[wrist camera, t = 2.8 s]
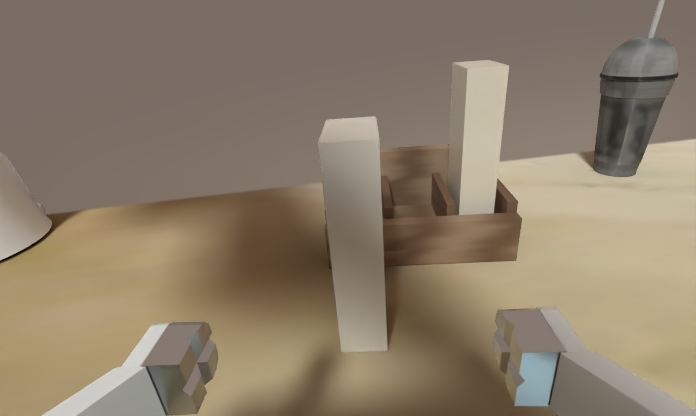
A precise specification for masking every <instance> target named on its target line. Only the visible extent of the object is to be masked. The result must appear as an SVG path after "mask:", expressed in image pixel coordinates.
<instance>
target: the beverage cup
mask: <svg viewBox="0 0 696 416" xmlns="http://www.w3.org/2000/svg"><path fill="white" fill-rule="evenodd" d="M664 2H665V0H659V3H658V6H657V9H656V12H655V15H654V19H653V22H652V25H651V28H650V31H649V34H648V37H639V38H633V39H631V40H629V41H627V42H626V43H624V44H622V45H621V46H619V47H618V48H617V49H616V50H615V51H614V52H613V53H612V54H611V55H610V56H609V58H608V59H607V61H606V63H605V65H604V67H603V70H602V73H601V74H600V77H601V81H600V93H601V101H600V110H599V119H598V127H597V136H596V145H595V154H594V157H595V159H594V170H595V171H596V172H598V173H601V174H604V175H609V176H617V177H627V176H633V175H635V174H636V171H637V168H638V166H639V164H640V162H641V160H642V158H643V155H644V152H645V150H646V147H647V144H648V142H649V139H650V137H651V134H652V131H653V129H654V126H655V124H656V121H657V118H658V116H659V113H660V110H661V108H662V105H663V103H664V100H665V98H666V96H667V95H668V94H669V92H670V90H671V88H672V86H673V84H674V81H675V78H677V77H678V72H677V71H678V63H679V61H678V55H677V52H676V50H675V49H674V47H673V46H672V45H671V44H670V43H669V42H668V41H666V40H665V39H663V38H660V37H654V33H655V30H656V27H657V24H658V21H659V18H660V15H661V11H662V8H663V5H664Z"/></svg>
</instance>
